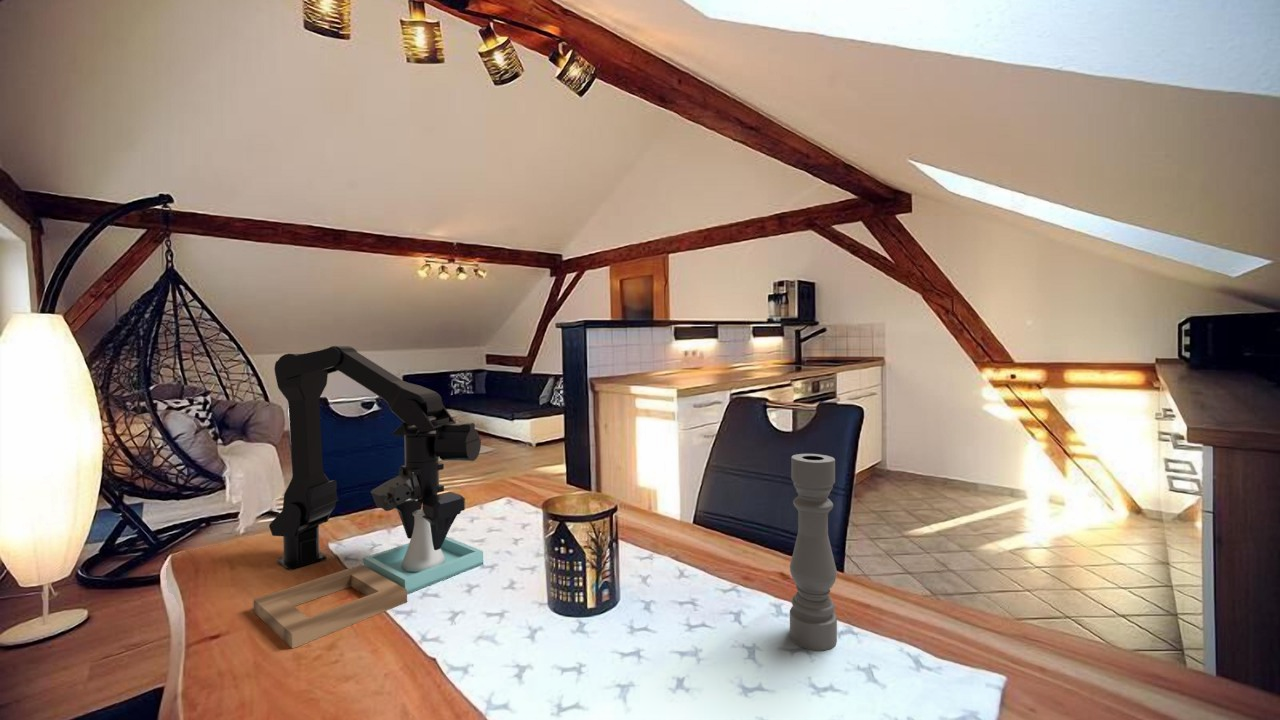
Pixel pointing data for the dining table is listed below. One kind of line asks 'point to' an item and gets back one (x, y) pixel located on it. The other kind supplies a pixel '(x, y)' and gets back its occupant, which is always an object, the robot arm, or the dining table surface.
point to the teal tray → (456, 562)
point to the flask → (421, 547)
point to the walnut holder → (302, 629)
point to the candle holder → (813, 554)
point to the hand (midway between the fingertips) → (423, 543)
